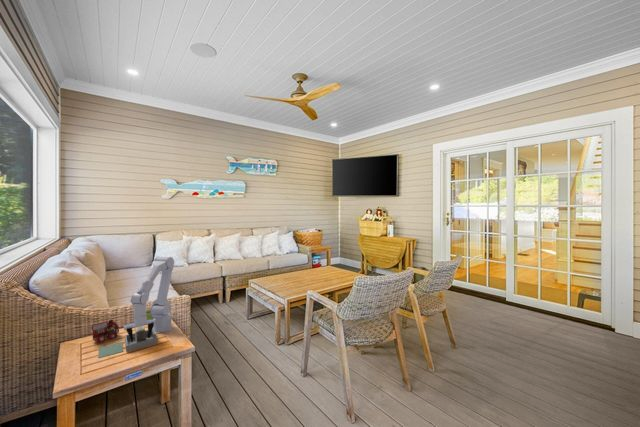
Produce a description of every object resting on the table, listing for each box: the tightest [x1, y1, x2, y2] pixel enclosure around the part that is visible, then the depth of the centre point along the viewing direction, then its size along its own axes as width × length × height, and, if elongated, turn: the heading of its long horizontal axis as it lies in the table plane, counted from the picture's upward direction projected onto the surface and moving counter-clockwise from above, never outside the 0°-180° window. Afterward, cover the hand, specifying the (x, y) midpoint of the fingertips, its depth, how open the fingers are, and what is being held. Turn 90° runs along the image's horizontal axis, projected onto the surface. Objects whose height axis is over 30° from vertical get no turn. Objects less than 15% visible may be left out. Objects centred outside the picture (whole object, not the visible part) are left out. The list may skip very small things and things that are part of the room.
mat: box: [97, 341, 124, 359], centre depth 143 cm, size 10×12×1 cm
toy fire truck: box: [90, 319, 120, 344], centre depth 155 cm, size 7×12×10 cm, turn 142°
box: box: [134, 326, 146, 343], centre depth 151 cm, size 4×9×7 cm, turn 38°
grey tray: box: [124, 328, 158, 353], centre depth 151 cm, size 14×23×4 cm, turn 38°
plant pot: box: [146, 309, 153, 320], centre depth 175 cm, size 9×9×9 cm
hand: (140, 339), depth 151 cm, fingers open, 7 cm apart
